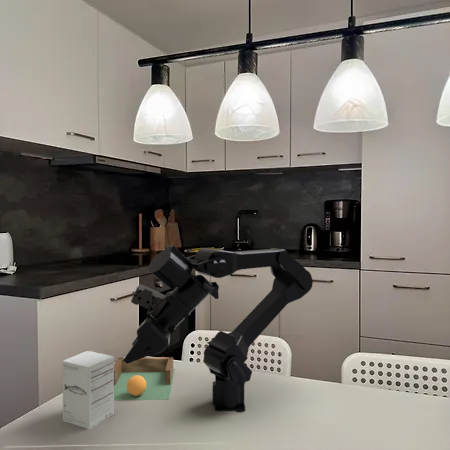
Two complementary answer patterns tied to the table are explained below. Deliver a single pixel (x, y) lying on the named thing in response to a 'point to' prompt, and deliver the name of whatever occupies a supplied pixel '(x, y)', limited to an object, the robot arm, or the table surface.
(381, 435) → the table surface
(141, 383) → the ball
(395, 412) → the table surface
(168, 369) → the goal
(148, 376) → the pitch mat
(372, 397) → the table surface
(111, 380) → the supplement box
